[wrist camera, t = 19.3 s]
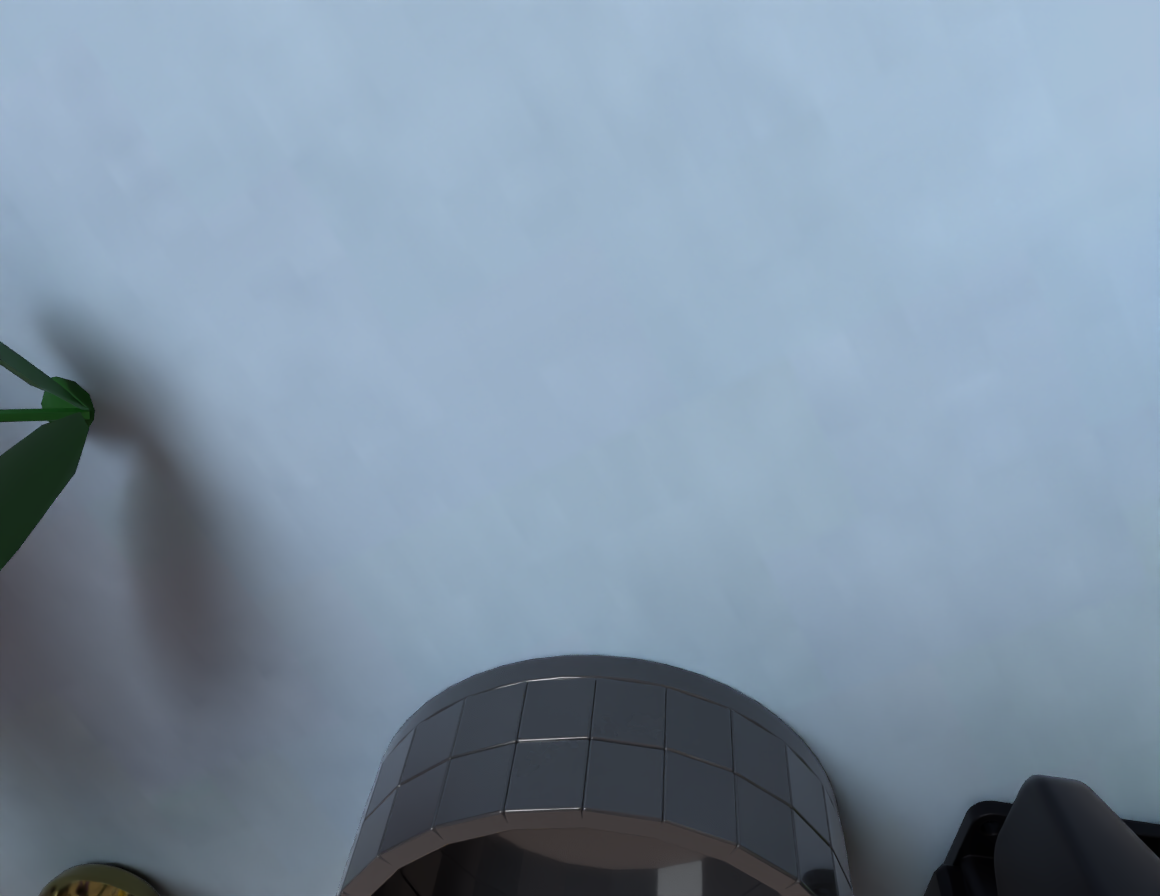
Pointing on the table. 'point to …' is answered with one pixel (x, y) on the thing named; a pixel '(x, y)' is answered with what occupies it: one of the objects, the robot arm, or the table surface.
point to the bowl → (597, 791)
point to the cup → (97, 882)
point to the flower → (39, 451)
